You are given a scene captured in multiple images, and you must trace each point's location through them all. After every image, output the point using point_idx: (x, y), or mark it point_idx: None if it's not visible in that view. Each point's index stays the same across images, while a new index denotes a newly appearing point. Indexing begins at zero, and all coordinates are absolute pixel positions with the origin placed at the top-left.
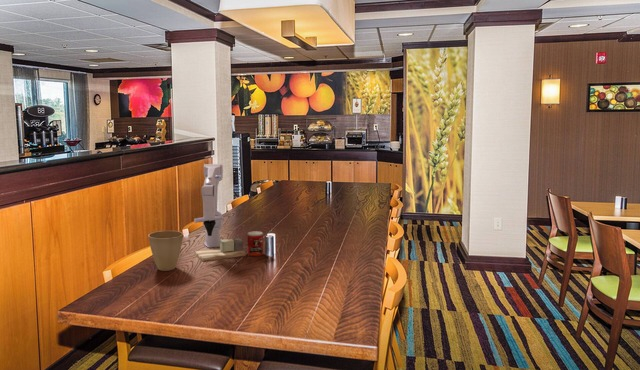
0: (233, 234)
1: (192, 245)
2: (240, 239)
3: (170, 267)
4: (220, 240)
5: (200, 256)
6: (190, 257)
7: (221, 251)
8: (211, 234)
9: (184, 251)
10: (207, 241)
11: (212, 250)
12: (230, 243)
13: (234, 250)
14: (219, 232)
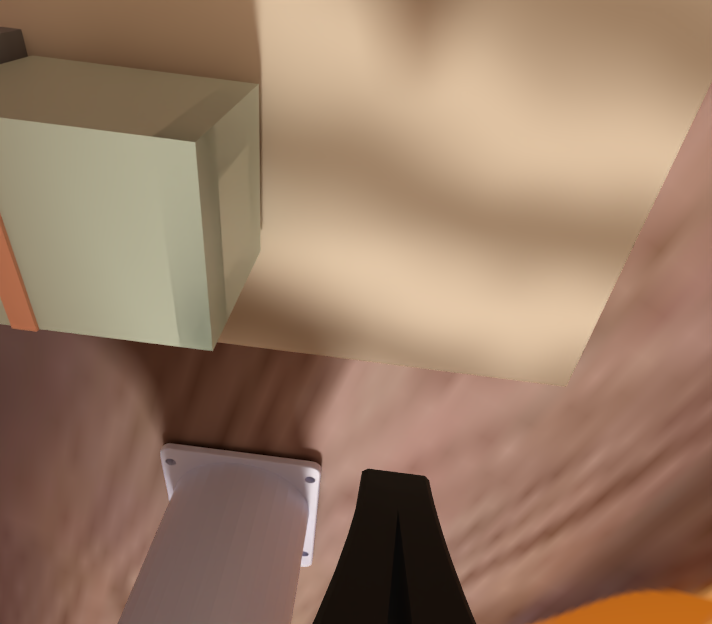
0: (26, 615)
1: None
2: None
3: None
4: (204, 304)
5: (702, 85)
6: (698, 264)
7: None
8: (367, 493)
9: (576, 480)
10: (299, 544)
11: (356, 298)
12: (13, 97)
13: None
14: (128, 613)
